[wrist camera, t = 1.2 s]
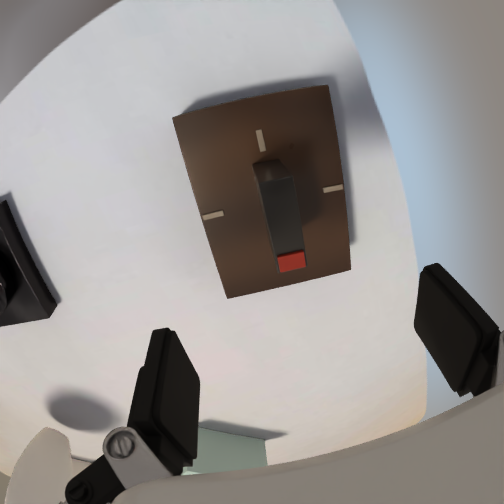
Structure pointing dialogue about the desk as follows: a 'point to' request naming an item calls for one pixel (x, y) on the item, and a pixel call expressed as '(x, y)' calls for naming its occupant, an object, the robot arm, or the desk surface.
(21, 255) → the button block
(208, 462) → the right angle wall
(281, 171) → the handle
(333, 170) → the panel
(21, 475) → the cup
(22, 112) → the desk surface
